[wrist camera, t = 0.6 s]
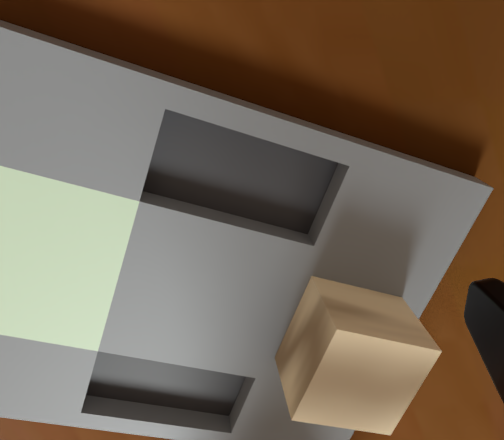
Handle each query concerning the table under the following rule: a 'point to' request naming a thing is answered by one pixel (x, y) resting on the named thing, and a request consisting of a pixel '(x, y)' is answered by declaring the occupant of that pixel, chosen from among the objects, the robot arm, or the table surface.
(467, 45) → the table surface
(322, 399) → the maple block
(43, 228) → the board
